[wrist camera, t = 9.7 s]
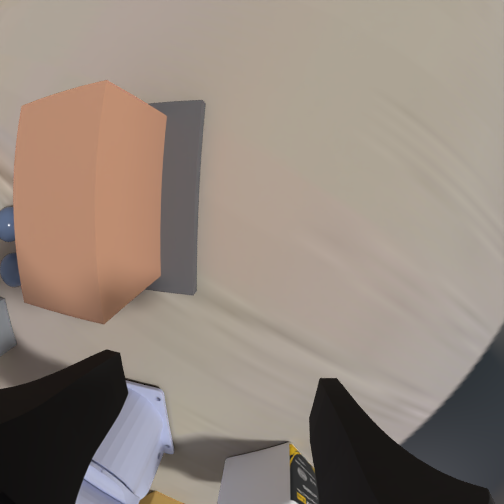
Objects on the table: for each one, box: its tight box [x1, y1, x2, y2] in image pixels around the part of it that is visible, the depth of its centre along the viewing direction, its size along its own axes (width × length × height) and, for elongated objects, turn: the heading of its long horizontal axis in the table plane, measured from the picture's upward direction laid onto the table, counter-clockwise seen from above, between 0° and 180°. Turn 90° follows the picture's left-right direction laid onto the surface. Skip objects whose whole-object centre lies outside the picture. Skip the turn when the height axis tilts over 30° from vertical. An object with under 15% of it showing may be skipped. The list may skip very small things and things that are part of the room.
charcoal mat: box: [146, 100, 205, 295], centre depth 17 cm, size 12×10×1 cm
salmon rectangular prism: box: [13, 80, 167, 324], centre depth 13 cm, size 10×6×7 cm, turn 176°
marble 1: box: [0, 206, 15, 242], centre depth 17 cm, size 3×3×3 cm
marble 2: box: [0, 253, 21, 287], centre depth 18 cm, size 3×3×3 cm
